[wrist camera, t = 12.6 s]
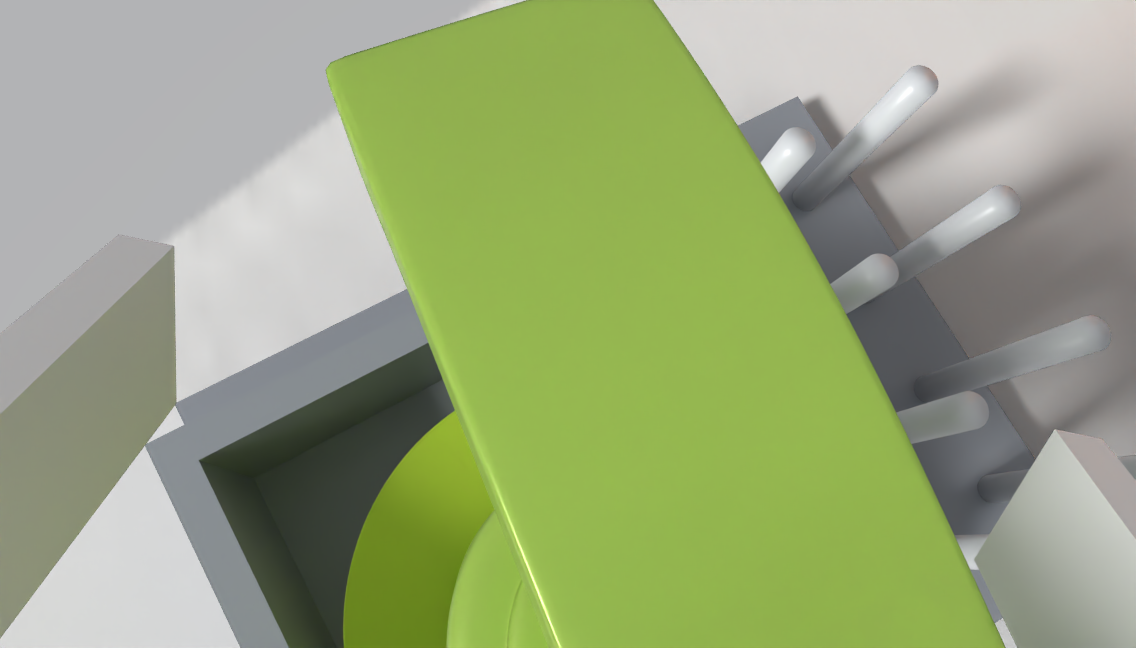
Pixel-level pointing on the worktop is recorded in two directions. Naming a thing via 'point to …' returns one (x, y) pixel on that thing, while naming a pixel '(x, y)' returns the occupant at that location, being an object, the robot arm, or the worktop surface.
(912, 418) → the dish rack
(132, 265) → the robot arm
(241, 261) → the worktop surface
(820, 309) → the soap dispenser
